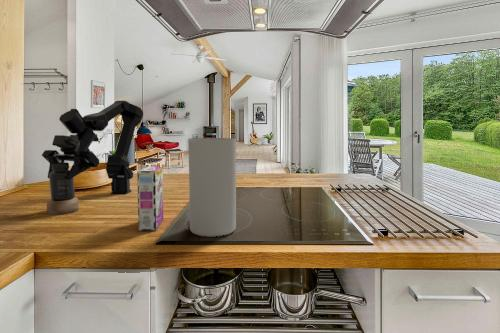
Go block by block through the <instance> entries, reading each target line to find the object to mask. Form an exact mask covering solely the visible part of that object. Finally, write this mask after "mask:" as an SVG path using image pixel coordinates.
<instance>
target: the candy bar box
mask: <svg viewBox="0 0 500 333" xmlns="http://www.w3.org/2000/svg"><path fill="white" fill-rule="evenodd" d="M136 173H137V174H136V175H137V214H138V215H137V216H138V218H137V219H138V222H137V223H138V231H139V232H141V231H142V232H146V231H147V232H152V231H153V232H154V231H155V232H156V231H157V229H158V228H159V227H160V225H161V223H162V222H163V221H164V175H163V174H164V168H163V166H146V167H144V168H142V169H140V170H138V171H137V172H136Z"/></svg>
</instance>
